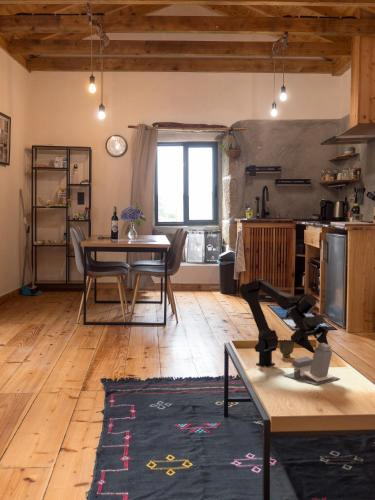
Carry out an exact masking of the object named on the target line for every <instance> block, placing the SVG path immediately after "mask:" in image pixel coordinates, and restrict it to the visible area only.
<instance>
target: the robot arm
mask: <svg viewBox="0 0 375 500" xmlns="http://www.w3.org/2000/svg"><path fill="white" fill-rule="evenodd" d="M238 290H239V294H240V295H241V297H242V299H243V300H244V301H245V302H246V303H247V304H248V306H249V308H250V312H251V314H252V317H253V320H254V322H255V325H256V328H257V329H258V335H257V338H258V339H257V340H258V342H257V344H255V346H254V351H255V352H257V353H258V362H257V363H255V365H256V366H262V367H272V366H274V365H276V363H275V362H273V352H275V351H276V350H277V348H278V346H279V336H278V335H277V331H276V330H275V329H273V330H272V329H271V328H270V326H269V324H268V321H267V319H266V316H265V313H264V311H263V309H262V308H263V307H262V306H261V304H260V300H259V298H260V297H259V296H260V292H259V291H261V292H263V293H265V294H266V295H267V296H269V297H270V298H272V299H273V300H275V302H276V304H277V305H278V306H279V307H280V308H281V309H282V310H289V311H286V313H285V314H286V315H285V319H290V318H291V320H292V321H293V323H294V329H296V330H295V331H294V332H293V333H292V335H291V336H290V341H292V342H293V343H294V344H295V345H298V346H300V347H302V348H304V349H306V350H307V351H308V352H310V353H312V354H314V352H315V351H314V350H315V348H314V347H313V345H312V343H311V342H310V340H309V337H312V336H313V337H314V338H315V339H316V342H317V343H318V344H320V343H325V344H327V345H329V342H328V338H327V336H328V333H329V331H330V328H329V327H328V326H327V325H323V324H324V322H325V317H324V316H323V315H322V314H318V315H315V316H313V317H307V315H306V314H309V313H310V311H312V309H314V307H315V306H317V301H316V299H315V298H314V297H313V296H312V295H309V293H307V292H304V293H302V294H301V296H300V297H299V298H298V297H297V296H296V295H294V294H291V293H287V292H284V291H282V290H280V289H279V288H277V287H275V286H274V285H273V284H271V283H270V282H268V281H267V280H266V279H263V278H261V279H255V280H254V281H251V282H248V283H241V285H240V286H239V289H238ZM319 325H320V326H319Z"/></svg>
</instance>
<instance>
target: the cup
mask: <svg viewBox="0 0 375 500" xmlns="http://www.w3.org/2000/svg"><path fill="white" fill-rule="evenodd" d="M278 342H279V343H278V346H279V351H280V353H281V354H282V357H283V358H284V359H288V357H289V358H290V357H291V354H292V353H293V351H294V346H295V343H293V342H292V341H291V339H278Z"/></svg>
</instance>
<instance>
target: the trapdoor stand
mask: <svg viewBox="0 0 375 500" xmlns="http://www.w3.org/2000/svg"><path fill="white" fill-rule="evenodd" d="M283 377H285V378H288V379H292V380H295V381H299V382H303V383H305V384H310V385H313V386H320V385H323V384H327V383H331V382H335V381H338V380H340V379H341V378H339V377H336V376H333V378H330V379H326V380H323V381H319V382H317V381H315V380H314V379H312V378H310V377H308V376H307V375H305V374H303V373H301V372H300V369H297V368H293V372H292V373H287V374H283Z"/></svg>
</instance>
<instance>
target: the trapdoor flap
mask: <svg viewBox="0 0 375 500" xmlns="http://www.w3.org/2000/svg"><path fill="white" fill-rule="evenodd" d="M312 359H313V358H310V357H309V356H303V357H299V358H294V359H292V361H291V362H292V363H291V365H290V367H291V368H293V369H295V368H297V369H300V372H301V373H303V374H305V375H307V376H308V377H310V378H312V379H314V380H315V381H317V382H319V381H323V380H326V379H330V378H333V377H334V375H331V374H330V373H328V374H327V376H326V377H322V378H318V377H316V376H314V375H313V374H311V373H310V369H311V364H312Z"/></svg>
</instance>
